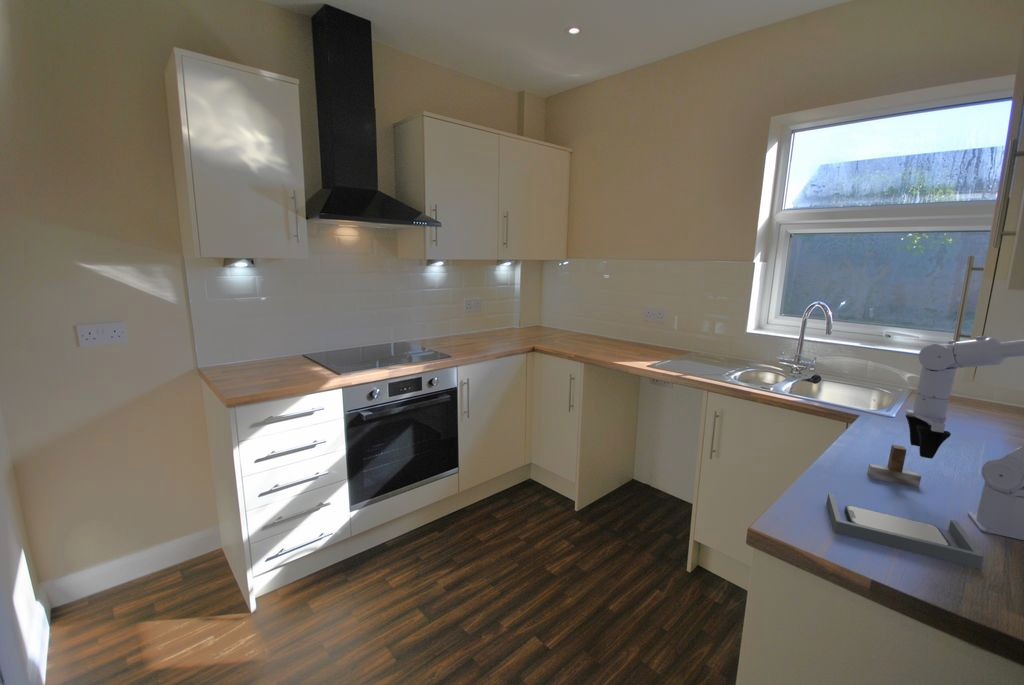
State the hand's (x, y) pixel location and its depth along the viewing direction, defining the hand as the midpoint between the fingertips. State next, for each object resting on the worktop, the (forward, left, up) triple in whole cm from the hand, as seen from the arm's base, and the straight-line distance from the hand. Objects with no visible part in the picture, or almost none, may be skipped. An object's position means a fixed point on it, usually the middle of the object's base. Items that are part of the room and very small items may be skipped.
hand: (921, 451), depth 110 cm
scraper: (+3, -5, -10) cm, 12 cm away
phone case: (+8, +22, -11) cm, 26 cm away
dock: (+8, +23, -10) cm, 27 cm away
